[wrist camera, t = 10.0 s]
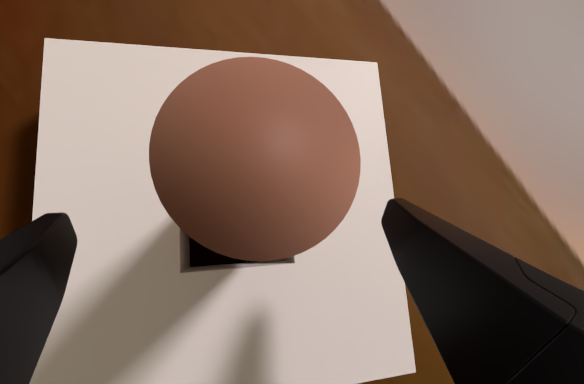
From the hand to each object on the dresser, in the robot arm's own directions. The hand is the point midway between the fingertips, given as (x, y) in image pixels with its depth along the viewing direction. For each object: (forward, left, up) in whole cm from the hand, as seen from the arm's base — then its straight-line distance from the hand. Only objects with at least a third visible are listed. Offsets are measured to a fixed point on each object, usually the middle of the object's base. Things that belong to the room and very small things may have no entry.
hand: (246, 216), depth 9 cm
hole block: (+1, 0, -9) cm, 9 cm away
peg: (+1, 0, -9) cm, 9 cm away
